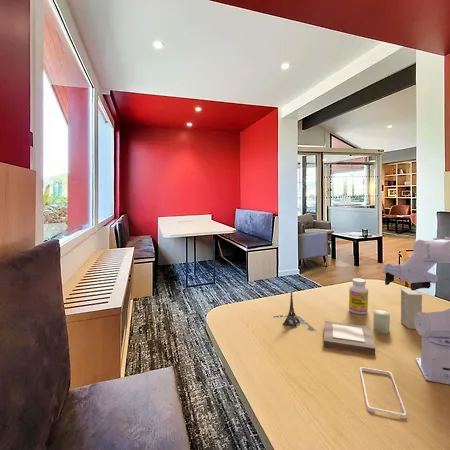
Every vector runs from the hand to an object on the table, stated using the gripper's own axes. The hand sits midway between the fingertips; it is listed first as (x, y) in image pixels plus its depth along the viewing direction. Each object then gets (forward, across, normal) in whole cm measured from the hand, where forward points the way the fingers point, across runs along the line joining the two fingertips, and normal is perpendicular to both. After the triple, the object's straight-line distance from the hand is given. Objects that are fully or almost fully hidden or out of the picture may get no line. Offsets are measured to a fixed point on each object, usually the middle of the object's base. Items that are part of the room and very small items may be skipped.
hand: (398, 284), depth 92 cm
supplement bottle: (+22, +7, +4) cm, 23 cm away
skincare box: (+14, -8, +8) cm, 18 cm away
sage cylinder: (+10, +2, +13) cm, 17 cm away
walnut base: (+5, +14, +21) cm, 25 cm away
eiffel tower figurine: (+13, +31, +18) cm, 38 cm away
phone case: (-12, +9, +36) cm, 40 cm away
